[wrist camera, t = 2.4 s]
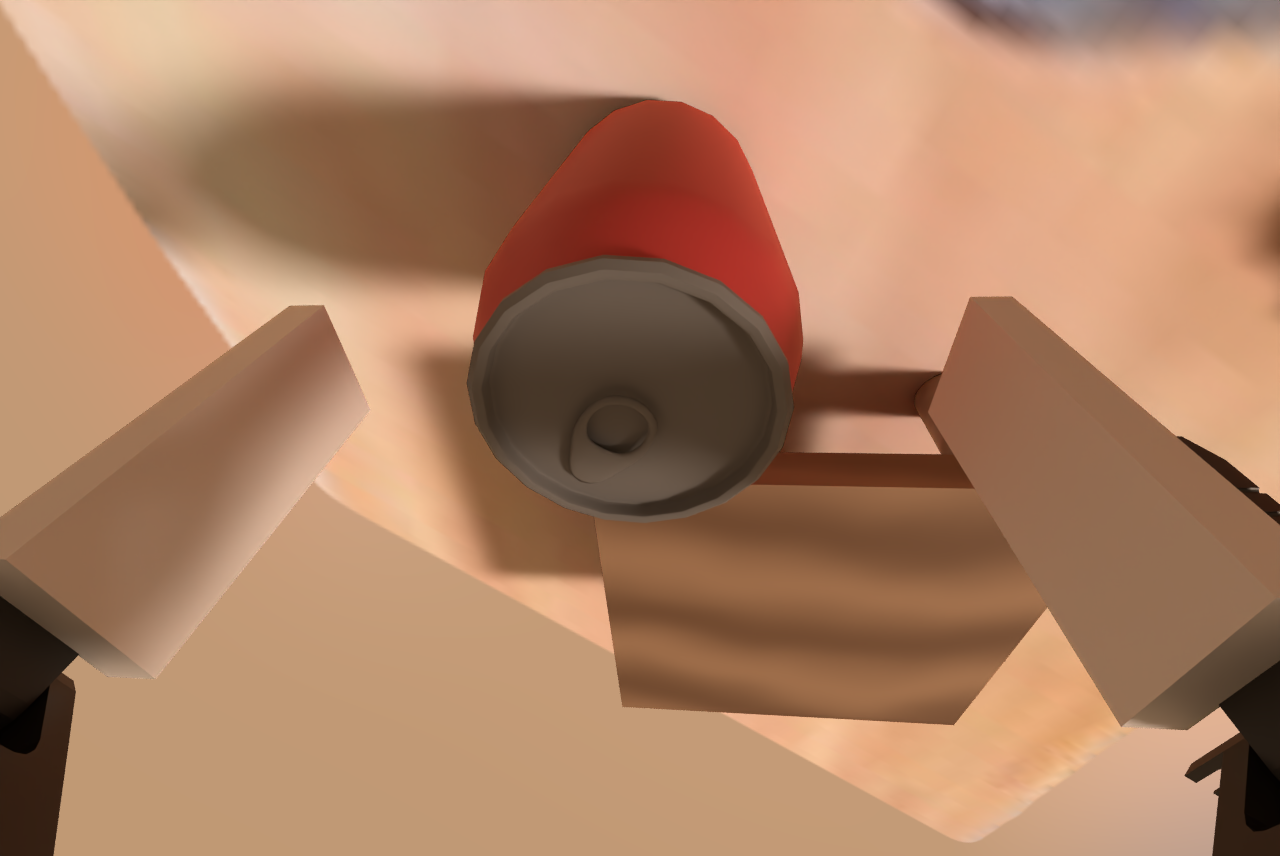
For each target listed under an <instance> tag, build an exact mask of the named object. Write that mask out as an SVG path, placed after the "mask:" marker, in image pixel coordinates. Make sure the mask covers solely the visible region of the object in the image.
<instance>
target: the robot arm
mask: <svg viewBox="0 0 1280 856" xmlns="http://www.w3.org/2000/svg"><path fill="white" fill-rule="evenodd" d="M370 410H371V409H370V407H369V405H368V403H367V401H366V398H365V396H364V394H363V392H362V389H361V387H360V385H359V383H358V380H357V378H356V376H355V374H354V371H353V369H352V367H351V365H350V363H349V360H348V358H347V356H346V354H345V351H344V349H343V347H342V345H341V342H340V340H339V338H338V336H337V334H336V331H335V329H334V327H333V325H332V322H331V320H330V318H329V316H328V313H327V311H326V309H325V307H324V305H308V306H289V307H288V308H286V309H285V310H283V311H282V312H281V313H279V314H278V315H277V316H275V317H274V318H272V319H271V320H270V321H268V322H267V323H266V324H264V325H263V326H261V327H260V328H259V329H257V330H256V331H255V332H253V333H252V334H251V335H249V336H248V337H246V338H245V339H244V340H242V341H241V342H240V343H238V344H237V345H235V346H234V347H233V348H231V349H230V350H229V351H227V352H226V353H225V354H223V355H222V356H220V357H219V358H218V359H216V360H215V361H214V362H212V363H211V364H209V365H208V366H207V367H205V368H204V369H203V370H201V371H200V372H199V373H197V374H196V375H194V376H193V377H192V378H190V379H189V380H188V381H186V382H185V383H183V384H182V385H181V386H179V387H178V388H177V389H175V390H174V391H173V392H172V393H170V394H169V395H167V396H166V397H164V398H163V399H162V400H160V401H159V402H158V403H156V404H155V405H153V406H152V407H151V408H149V409H148V410H147V411H145V412H144V413H142V414H141V415H140V416H138V417H137V418H136V419H134V420H133V421H131V422H130V423H129V424H127V425H126V426H125V427H123V428H122V429H120V430H119V431H118V432H116V433H115V434H114V435H112V436H111V437H110V438H108V439H107V440H105V441H104V442H103V443H102V444H100V445H99V446H97V447H96V448H95V449H93V450H92V451H90V452H89V453H88V454H86V455H85V456H84V457H82V458H81V459H79V460H78V461H77V462H75V463H74V464H73V465H71V466H70V467H68V468H67V469H66V470H64V471H63V472H62V473H60V474H59V475H58V476H56V477H55V478H53V479H52V480H51V481H49V482H48V483H47V484H45V485H44V486H43V487H41V488H40V489H39V490H37V491H36V492H34V493H33V494H32V495H30V496H29V497H28V498H26V499H25V500H23V501H22V502H21V503H19V504H18V505H16V506H15V507H14V508H12V509H11V510H10V511H8V512H7V513H5V514H4V515H3V516H2V517H0V856H53V854H54V847H55V839H56V832H57V825H58V818H59V810H60V802H61V796H62V788H63V781H64V774H65V766H66V759H67V751H68V745H69V737H70V730H71V723H72V715H73V707H74V701H75V693H76V691H75V686H74V681H73V680H72V679H70V678H69V677H67V676H66V675H64V674H63V673H62V671H64V669H65V668H66V667H67V666H68V665H69V664H70V663H71V662H72V661H73V660H74V659H75V658H76V657H77V656H78V655H79V656H80V657H81V658H83V659H84V660H85V661H87V662H88V663H89V664H91V665H92V666H93V667H95V668H96V669H98V670H99V671H100V672H102V673H103V674H104V675H106V676H107V677H123V678H143V679H156V678H157V677H158V675H159V674H160V673H161V672H162V670H163V669H164V668H165V667H166V665H167V664H168V663H169V662H170V660H171V659H172V658H173V657H174V655H175V654H176V653H177V652H178V650H179V649H180V648H181V647H182V645H183V644H184V643H185V642H186V640H187V639H188V638H189V637H190V635H191V634H192V633H193V632H194V630H195V629H196V628H197V627H198V625H199V624H200V623H201V622H202V620H203V619H204V618H205V616H206V615H207V614H208V613H209V612H210V610H211V609H212V608H213V607H214V605H215V604H216V603H217V602H218V600H219V599H220V598H221V597H222V595H223V594H224V593H225V592H226V590H227V589H228V588H229V587H230V585H231V584H232V583H233V582H234V580H235V579H236V578H237V577H238V575H239V574H240V573H241V572H242V570H243V569H244V568H245V567H246V565H247V564H248V563H249V562H250V560H251V559H252V558H253V557H254V555H255V554H256V553H257V551H258V550H259V549H260V548H261V547H262V545H263V544H264V543H265V542H266V540H267V539H268V538H269V536H270V535H271V534H272V533H273V532H274V530H275V529H276V528H277V527H278V525H279V524H280V523H281V522H282V520H283V519H284V518H285V517H286V515H287V514H288V513H289V512H290V510H291V509H292V508H293V507H294V505H295V504H296V503H297V502H298V500H299V499H300V498H301V497H302V495H303V494H304V493H305V491H306V490H307V489H308V488H309V487H310V485H311V484H312V483H313V482H314V480H315V479H316V478H317V477H318V475H319V474H320V473H321V472H322V470H323V469H324V468H325V467H326V465H327V464H328V463H329V462H330V460H331V459H332V458H333V457H334V455H335V454H336V453H337V452H338V450H339V449H340V448H341V447H342V445H343V444H344V443H345V442H346V440H347V439H348V438H349V437H350V435H351V434H352V433H353V432H354V430H355V429H356V428H357V427H358V425H359V424H360V423H361V422H362V420H363V419H364V418H365V417H366V415H367V414H368V413H369V412H370ZM928 413H929V415H930V417H931V418H932V420H933V421H934V423H935V425H936V426H937V428H938V430H939V431H940V433H941V435H942V436H943V438H944V439H945V441H946V443H947V444H948V446H949V448H950V449H951V451H952V452H953V454H954V456H955V457H956V459H957V461H958V462H959V464H960V465H961V467H962V469H963V470H964V472H965V474H966V475H967V477H968V478H969V480H970V482H971V483H972V485H973V487H974V488H975V490H976V491H977V493H978V495H979V496H980V498H981V500H982V501H983V503H984V504H985V506H986V508H987V509H988V511H989V513H990V514H991V516H992V517H993V519H994V521H995V522H996V524H997V526H998V527H999V529H1000V530H1001V532H1002V534H1003V535H1004V537H1005V539H1006V540H1007V542H1008V543H1009V545H1010V547H1011V548H1012V550H1013V552H1014V553H1015V555H1016V556H1017V558H1018V560H1019V561H1020V563H1021V565H1022V566H1023V568H1024V570H1025V571H1026V573H1027V574H1028V576H1029V578H1030V579H1031V581H1032V583H1033V584H1034V586H1035V587H1036V589H1037V591H1038V592H1039V594H1040V596H1041V597H1042V599H1043V600H1044V602H1045V604H1046V605H1047V607H1048V609H1049V610H1050V612H1051V613H1052V615H1053V617H1054V618H1055V620H1056V622H1057V623H1058V625H1059V626H1060V628H1061V630H1062V631H1063V633H1064V635H1065V636H1066V638H1067V639H1068V641H1069V643H1070V644H1071V646H1072V648H1073V649H1074V651H1075V652H1076V654H1077V656H1078V657H1079V659H1080V661H1081V662H1082V664H1083V665H1084V667H1085V669H1086V670H1087V672H1088V674H1089V675H1090V677H1091V678H1092V680H1093V682H1094V683H1095V685H1096V687H1097V688H1098V690H1099V692H1100V693H1101V695H1102V696H1103V698H1104V700H1105V701H1106V703H1107V705H1108V706H1109V708H1110V709H1111V711H1112V713H1113V714H1114V716H1115V718H1116V719H1117V721H1118V722H1119V724H1120V726H1121V727H1134V728H1155V729H1175V730H1176V729H1177V730H1188V729H1189V728H1191V727H1192V726H1194V725H1195V724H1197V723H1198V722H1199V721H1201V720H1202V719H1203V718H1205V717H1206V716H1208V715H1209V714H1210V713H1212V712H1213V711H1215V710H1216V709H1217V708H1219V707H1221V708H1222V710H1223V711H1224V712H1225V713H1226V714H1227V716H1228V717H1229V719H1230V720H1231V721H1232V722H1233V724H1234V725H1235V726H1236V728H1237V729H1238V730H1239V731H1240V733H1238V734H1237V735H1235V736H1234V737H1232V738H1230V739H1229V740H1228V741H1226V742H1224V743H1223V744H1221V745H1220V746H1218V747H1217V748H1215V749H1214V750H1212V751H1210V752H1209V753H1207V754H1206V755H1204V756H1203V757H1201V758H1200V759H1198V760H1196V761H1195V762H1193V763H1192V764H1191V765H1190V767H1189V769H1188V771H1187V772H1186V774H1185V776H1186V777H1187V778H1189V779H1191V780H1192V781H1194V782H1196V783H1197V782H1198V781H1200V780H1202V779H1203V778H1205V777H1207V776H1208V775H1210V774H1212V773H1213V772H1215V771H1217V770H1218V769H1221V779H1220V788H1218V789H1217V790H1215V791H1214V794H1216V795H1217V796H1219V798H1218V807H1217V817H1216V826H1215V836H1214V845H1213V854H1212V856H1280V504H1278V503H1277V502H1276V501H1275V500H1274V499H1272V498H1271V497H1270V496H1269V495H1268V494H1263V493H1259V487H1258V486H1257V485H1255V484H1254V483H1253V482H1252V481H1250V480H1249V479H1248V478H1247V477H1246V476H1244V475H1243V474H1242V473H1241V472H1239V471H1238V470H1237V469H1236V468H1235V467H1233V466H1232V465H1231V464H1230V463H1228V462H1227V461H1226V460H1224V459H1223V458H1221V457H1219V456H1217V455H1215V454H1213V453H1211V452H1210V451H1208V450H1206V449H1204V448H1202V447H1200V446H1198V445H1197V444H1195V443H1193V442H1191V441H1189V440H1187V439H1185V438H1184V437H1179V436H1175V435H1174V434H1173V433H1171V432H1170V431H1169V430H1168V429H1167V428H1166V427H1164V426H1163V425H1162V424H1161V423H1160V422H1158V421H1157V420H1156V419H1155V418H1154V417H1153V416H1151V415H1150V414H1149V413H1148V412H1147V411H1146V410H1144V409H1143V408H1142V407H1141V406H1140V405H1139V404H1137V403H1136V402H1135V401H1134V400H1133V399H1132V398H1130V397H1129V396H1128V395H1127V394H1126V393H1125V392H1123V391H1122V390H1121V389H1120V388H1119V387H1118V386H1116V385H1115V384H1114V383H1113V382H1112V381H1110V380H1109V379H1108V378H1107V377H1106V376H1105V375H1103V374H1102V373H1101V372H1100V371H1099V370H1098V369H1096V368H1095V367H1094V366H1093V365H1092V364H1091V363H1089V362H1088V361H1087V360H1086V359H1085V358H1084V357H1082V356H1081V355H1080V354H1079V353H1078V352H1077V351H1075V350H1074V349H1073V348H1072V347H1071V346H1069V345H1068V344H1067V343H1066V342H1065V341H1064V340H1062V339H1061V338H1060V337H1059V336H1058V335H1057V334H1055V333H1054V332H1053V331H1052V330H1051V329H1050V328H1048V327H1047V326H1046V325H1045V324H1044V323H1043V322H1041V321H1040V320H1039V319H1038V318H1037V317H1036V316H1034V315H1033V314H1032V313H1031V312H1030V311H1028V310H1027V309H1026V308H1025V307H1024V306H1023V305H1021V304H1020V303H1019V302H1018V301H1017V300H1016V299H1014V298H1013V297H970V299H969V302H968V304H967V307H966V310H965V313H964V315H963V318H962V321H961V324H960V326H959V329H958V332H957V334H956V337H955V340H954V343H953V345H952V348H951V351H950V354H949V356H948V359H947V362H946V364H945V367H944V370H943V373H942V375H941V378H940V381H939V384H938V386H937V389H936V392H935V394H934V397H933V400H932V403H931V405H930V408H929V411H928Z"/></svg>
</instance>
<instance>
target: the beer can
mask: <svg viewBox="0 0 1280 856" xmlns="http://www.w3.org/2000/svg"><path fill="white" fill-rule="evenodd" d="M473 340H474V347H473V352H472V357H471V363H470V368H469V373H468V379H467V387H468V392H469V397H470V402H471V406H472V411H473V416H474V421H475V424H476V426H477V427H478V429H479V431H480V432H481V434H482V436H483V437H484V439H485V441H486V442H487V444H488V446H489V447H490V449H491V451H492V452H493V454H494V456H495V457H496V459H497V460H498V461H499V462H500V463H502V464H503V465H504V466H505V467H506V468H507V469H508V470H509V471H510V472H511V473H512V474H513V475H514V476H516V477H517V478H518V479H519V480H520V481H521V482H522V483H523V484H524V485H525V486H526V487H528V488H529V489H531V490H533V491H535V492H537V493H539V494H540V495H542V496H544V497H546V498H548V499H549V500H551V501H553V502H555V503H557V504H558V505H560V506H562V507H564V508H566V509H570V510H573V511H577V512H580V513H583V514H587V515H590V516H593V517H597V518H600V519H603V520H615V521H627V522H639V523H648V522H656V521H664V520H671V519H679V518H686V517H689V516H691V515H694V514H697V513H699V512H702V511H705V510H707V509H710V508H713V507H715V506H718V505H721V504H723V503H726V502H727V501H729V500H730V499H732V498H733V497H734V496H736V495H737V494H739V493H740V492H741V491H743V490H744V489H746V488H747V487H748V486H750V485H751V484H753V483H754V482H755V481H757V480H758V479H759V478H760V477H761V475H762V474H763V473H764V471H765V470H766V469H767V467H768V466H769V465H770V463H771V462H772V461H773V459H774V458H775V457H776V455H777V454H778V452H779V451H780V450H781V448H782V447H783V444H784V440H785V437H786V433H787V430H788V426H789V423H790V419H791V416H792V412H793V409H794V404H793V396H792V392H793V388H794V384H795V381H796V377H797V373H798V370H799V366H800V363H801V357H802V347H803V333H802V323H801V313H800V303H799V293H798V290H797V287H796V285H795V282H794V279H793V277H792V274H791V271H790V269H789V266H788V263H787V261H786V258H785V256H784V253H783V250H782V248H781V245H780V242H779V240H778V237H777V235H776V232H775V229H774V227H773V224H772V221H771V219H770V216H769V213H768V211H767V208H766V206H765V203H764V200H763V198H762V195H761V192H760V190H759V187H758V184H757V182H756V179H755V177H754V174H753V171H752V169H751V167H750V165H749V163H748V161H747V159H746V157H745V155H744V153H743V151H742V149H741V147H740V145H739V143H738V141H737V139H736V138H735V137H734V136H733V135H732V134H731V133H730V132H729V131H728V130H727V129H725V128H724V127H723V126H722V125H721V124H720V123H719V122H718V121H717V120H716V119H715V118H714V117H713V116H712V115H709V114H707V113H705V112H703V111H701V110H698V109H696V108H694V107H692V106H689V105H687V104H685V103H683V102H674V101H656V100H645V101H642V102H639V103H636V104H633V105H630V106H627V107H624V108H620V109H617V110H614V111H613V112H612V113H611V114H609V115H608V116H607V117H605V118H604V119H603V120H602V121H600V122H599V123H598V124H597V125H595V126H594V127H593V128H591V129H590V130H589V131H588V132H587V133H586V134H585V136H584V137H583V138H582V139H581V141H580V142H579V143H578V145H577V146H576V147H575V148H574V150H573V151H572V152H571V153H570V155H569V156H568V157H567V159H566V160H565V161H564V162H563V164H562V165H561V166H560V168H559V169H558V170H557V171H556V173H555V174H554V175H553V176H552V178H551V179H550V180H549V182H548V183H547V184H546V185H545V187H544V188H543V189H542V191H541V192H540V193H539V194H538V196H537V197H536V198H535V199H534V201H533V202H532V203H531V205H530V206H529V207H528V208H527V210H526V211H525V212H524V214H523V215H522V216H521V217H520V219H519V220H518V221H517V222H516V224H515V225H514V226H513V228H512V229H511V231H510V232H509V234H508V235H507V237H506V239H505V240H504V242H503V243H502V245H501V247H500V248H499V250H498V252H497V253H496V255H495V256H494V258H493V260H492V261H491V263H490V264H489V266H488V268H487V269H486V271H485V275H484V280H483V285H482V290H481V296H480V301H479V307H478V312H477V318H476V323H475V329H474V334H473Z"/></svg>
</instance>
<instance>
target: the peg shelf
mask: <svg viewBox="0 0 1280 856" xmlns="http://www.w3.org/2000/svg"><path fill="white" fill-rule="evenodd" d="M941 375H942V374H941ZM941 375H938V376H935V377H933V378H931V379H930V380H928V381H927V382H926V383H924V384H923V385H922V386H921V387H920V389H919V390H918V391H917V393H916V395H915V399H914V405H915V408H916V410H917V412H918V413H919V415H920V417H921V419H922V421H923V422H924V424H925V426H926V428H927V429H928V431H929V433H930V435H931V437H932V438H933V440H934V442H935V444H936V446H937V447H938V449H939V451H940V453H941V454H942V455H941V454H867V453H792V452H778V454H777V455H776V457H775V458H774V459H773V461H772V462H771V463H770V465H769V466H768V467H767V469H766V470H765V471H764V473H763V474H762V475H761V477H760V478H759V479H758V480H757V481H755V482H754V483H753V484H751V485H750V486H748V487H747V488H746V489H744V490H743V491H741V492H740V493H739V494H737V495H736V496H734V497H733V498H732V499H730V500H729V501H727V502H726V503H723V504H721V505H718V506H715V507H713V508H710V509H707V510H705V511H702V512H699V513H697V514H694V515H691V516H689V517H686V518H679V519H671V520H664V521H656V522H648V523H639V522H627V521H615V520H603V519H600V518H597V517H594V521H595V528H596V534H597V541H598V548H599V554H600V561H601V568H602V574H603V581H604V587H605V594H606V601H607V607H608V614H609V621H610V627H611V634H612V640H613V647H614V654H615V660H616V667H617V674H618V680H619V687H620V693H621V700H622V706H623V707H636V708H654V709H655V708H656V709H672V710H690V711H708V712H726V713H744V714H763V715H781V716H799V717H817V718H835V719H853V720H872V721H890V722H908V723H926V724H944V725H954V724H955V723H956V722H957V720H958V719H959V718H960V716H961V715H962V714H963V713H964V711H965V710H966V709H967V708H968V706H969V705H970V704H971V703H972V701H973V700H974V699H975V698H976V696H977V695H978V694H979V693H980V691H981V690H982V689H983V688H984V686H985V685H986V684H987V682H988V681H989V680H990V679H991V677H992V676H993V675H994V674H995V672H996V671H997V670H998V669H999V667H1000V666H1001V665H1002V664H1003V662H1004V661H1005V660H1006V659H1007V657H1008V656H1009V655H1010V654H1011V652H1012V651H1013V650H1014V649H1015V647H1016V646H1017V645H1018V643H1019V642H1020V641H1021V640H1022V638H1023V637H1024V636H1025V635H1026V633H1027V632H1028V631H1029V630H1030V628H1031V627H1032V626H1033V625H1034V623H1035V622H1036V621H1037V620H1038V618H1039V617H1040V616H1041V615H1042V613H1043V612H1044V611H1045V609H1046V608H1047V605H1046V604H1045V602H1044V600H1043V599H1042V597H1041V596H1040V594H1039V592H1038V591H1037V589H1036V587H1035V586H1034V584H1033V583H1032V581H1031V579H1030V578H1029V576H1028V574H1027V573H1026V571H1025V570H1024V568H1023V566H1022V565H1021V563H1020V561H1019V560H1018V558H1017V556H1016V555H1015V553H1014V552H1013V550H1012V548H1011V547H1010V545H1009V543H1008V542H1007V540H1006V539H1005V537H1004V535H1003V534H1002V532H1001V530H1000V529H999V527H998V526H997V524H996V522H995V521H994V519H993V517H992V516H991V514H990V513H989V511H988V509H987V508H986V506H985V504H984V503H983V501H982V500H981V498H980V496H979V495H978V493H977V491H976V490H975V488H974V487H973V485H972V483H971V482H970V480H969V478H968V477H967V475H966V474H965V472H964V470H963V469H962V467H961V465H960V464H959V462H958V461H957V459H956V457H955V456H954V454H953V452H952V451H951V449H950V448H949V446H948V444H947V443H946V441H945V439H944V438H943V436H942V435H941V433H940V431H939V430H938V428H937V426H936V425H935V423H934V421H933V420H932V418H931V417H930V415H929V413H928V411H929V408H930V405H931V403H932V400H933V397H934V394H935V392H936V389H937V386H938V384H939V381H940V378H941Z"/></svg>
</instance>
